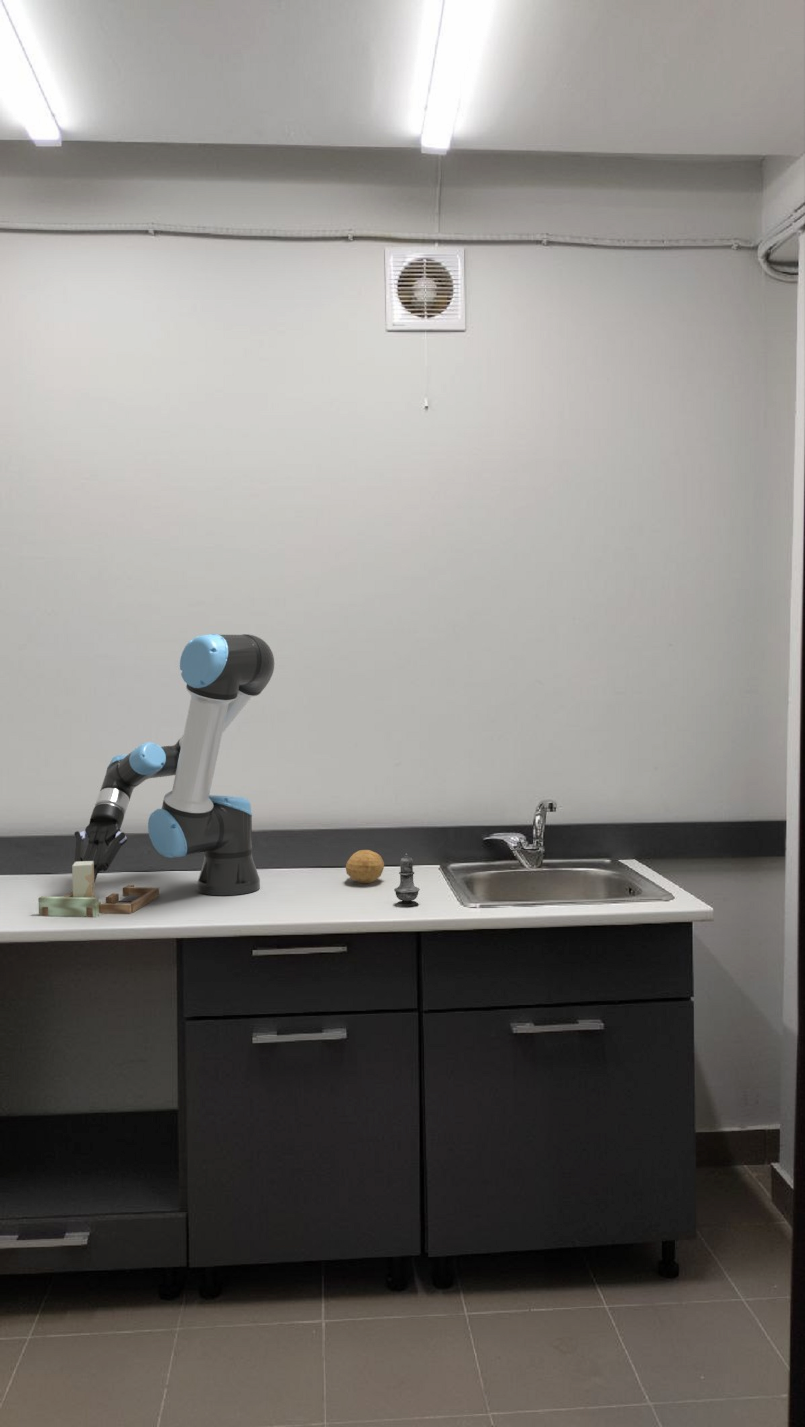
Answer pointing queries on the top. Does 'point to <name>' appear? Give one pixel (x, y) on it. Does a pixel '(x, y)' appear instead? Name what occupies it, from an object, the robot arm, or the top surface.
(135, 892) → the brown green flat frame
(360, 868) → the potato
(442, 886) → the top surface
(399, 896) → the salt shaker
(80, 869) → the box
